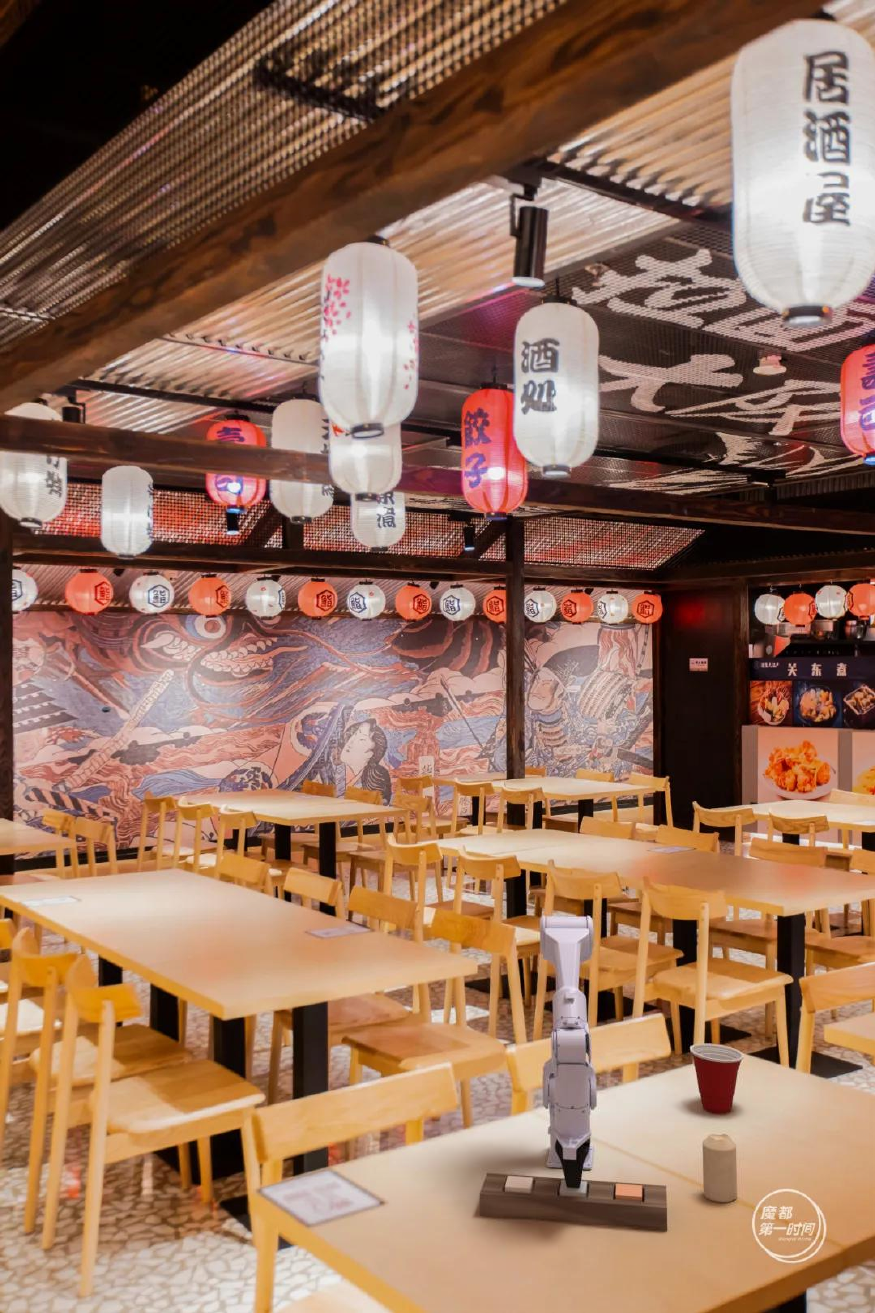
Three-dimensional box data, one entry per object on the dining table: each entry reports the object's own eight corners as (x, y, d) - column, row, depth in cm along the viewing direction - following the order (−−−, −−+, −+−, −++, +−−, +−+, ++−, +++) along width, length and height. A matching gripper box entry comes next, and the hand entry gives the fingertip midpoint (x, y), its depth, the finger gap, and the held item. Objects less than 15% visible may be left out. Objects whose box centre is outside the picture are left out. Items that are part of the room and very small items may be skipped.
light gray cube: (562, 1201, 181) (561, 1179, 181) (587, 1203, 180) (587, 1181, 180) (559, 1212, 177) (559, 1191, 177) (585, 1215, 176) (585, 1192, 176)
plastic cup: (751, 1119, 217) (750, 1058, 217) (697, 1119, 217) (696, 1058, 218) (737, 1099, 228) (736, 1041, 228) (685, 1099, 228) (684, 1041, 228)
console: (487, 1194, 185) (486, 1173, 185) (666, 1207, 179) (666, 1186, 180) (479, 1215, 177) (479, 1193, 178) (667, 1230, 172) (666, 1208, 172)
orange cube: (616, 1205, 179) (616, 1183, 179) (642, 1207, 178) (642, 1185, 179) (615, 1217, 175) (615, 1195, 175) (642, 1219, 174) (641, 1197, 174)
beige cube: (508, 1197, 183) (508, 1176, 183) (533, 1199, 182) (532, 1177, 182) (505, 1208, 179) (504, 1187, 179) (530, 1210, 178) (530, 1188, 178)
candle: (731, 1187, 186) (730, 1128, 187) (741, 1202, 181) (740, 1141, 181) (699, 1188, 186) (698, 1129, 187) (708, 1203, 181) (707, 1142, 181)
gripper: (551, 1086, 187) (552, 1166, 186) (543, 1117, 173) (544, 1204, 172) (592, 1088, 186) (594, 1169, 185) (588, 1120, 171) (589, 1208, 171)
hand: (573, 1186), depth 179 cm, fingers closed, pressing on light gray cube
